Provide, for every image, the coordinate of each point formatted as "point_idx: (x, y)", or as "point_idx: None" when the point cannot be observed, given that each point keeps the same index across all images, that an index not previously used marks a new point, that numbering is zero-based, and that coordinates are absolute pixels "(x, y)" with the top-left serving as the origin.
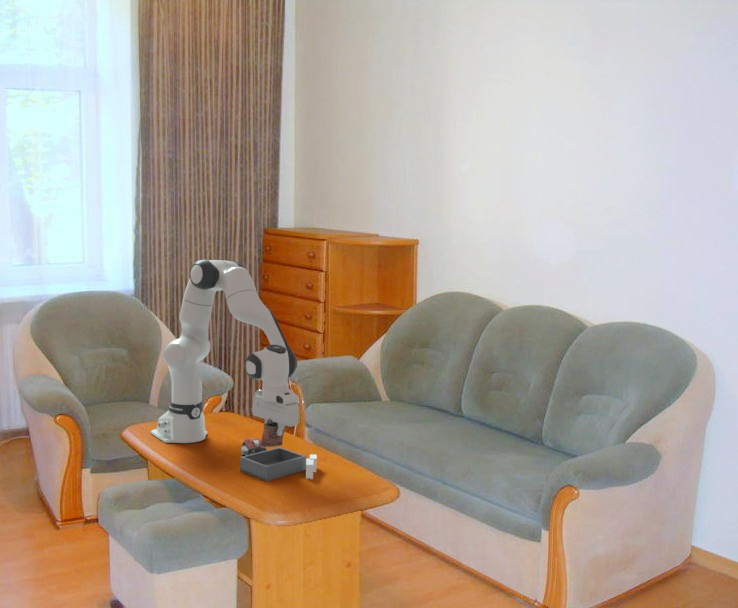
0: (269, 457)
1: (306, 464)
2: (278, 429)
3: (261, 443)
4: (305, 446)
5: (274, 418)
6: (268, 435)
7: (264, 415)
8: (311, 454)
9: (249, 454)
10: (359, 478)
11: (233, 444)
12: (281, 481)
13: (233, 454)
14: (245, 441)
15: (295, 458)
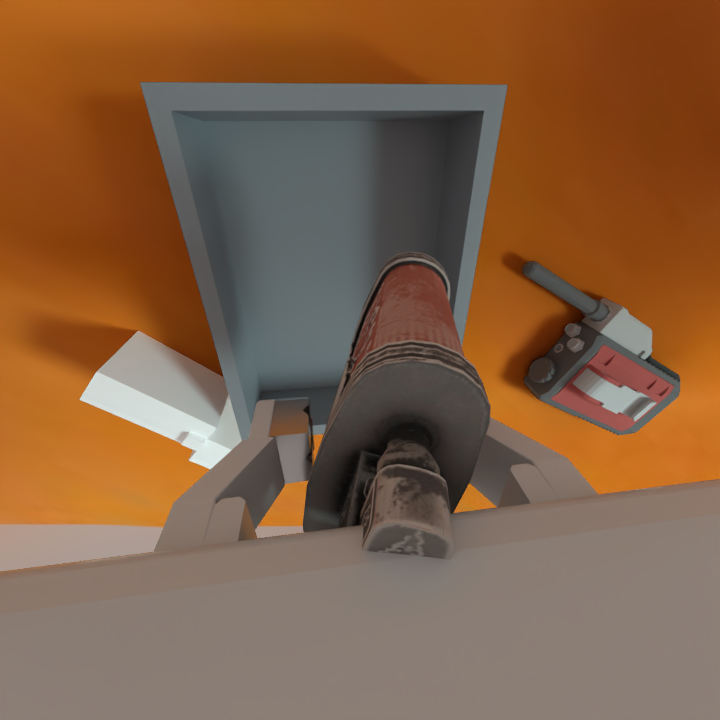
0: None
1: (101, 374)
2: (238, 455)
3: (413, 257)
4: (471, 510)
5: (266, 632)
6: (368, 335)
7: (652, 569)
8: None
9: (579, 325)
10: (60, 486)
11: (711, 355)
12: (149, 195)
13: (652, 276)
14: (671, 383)
15: (234, 384)
